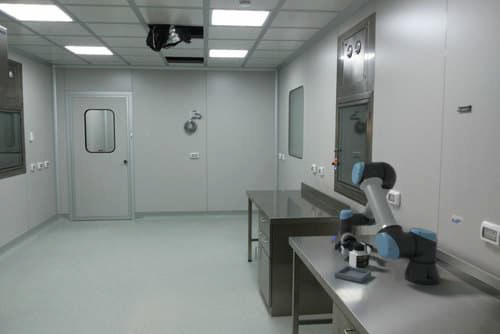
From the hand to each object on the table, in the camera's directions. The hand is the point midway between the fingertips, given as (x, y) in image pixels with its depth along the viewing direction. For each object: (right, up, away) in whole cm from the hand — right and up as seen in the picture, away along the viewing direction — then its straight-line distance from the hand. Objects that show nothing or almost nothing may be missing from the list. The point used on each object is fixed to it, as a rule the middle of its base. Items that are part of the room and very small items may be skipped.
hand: (357, 252), depth 209 cm
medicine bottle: (0, -7, -3) cm, 8 cm away
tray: (-7, -8, -18) cm, 21 cm away
